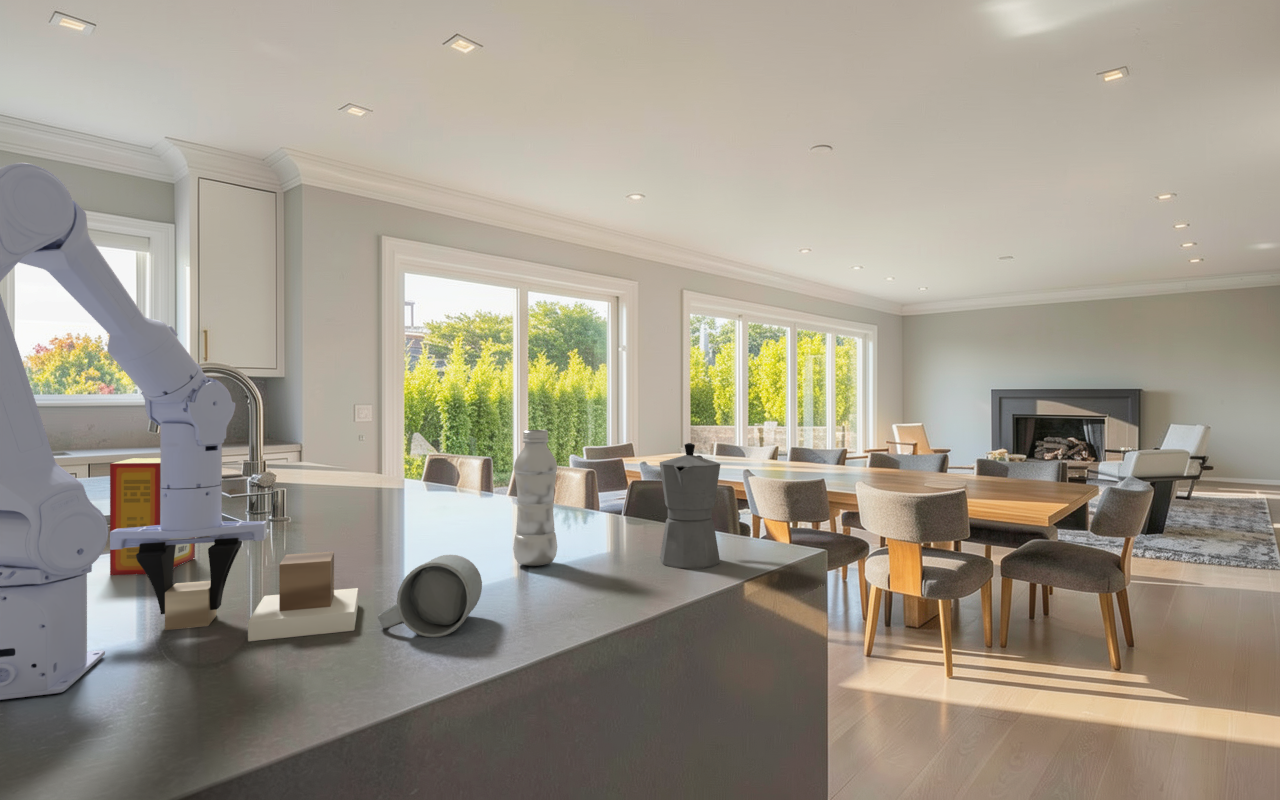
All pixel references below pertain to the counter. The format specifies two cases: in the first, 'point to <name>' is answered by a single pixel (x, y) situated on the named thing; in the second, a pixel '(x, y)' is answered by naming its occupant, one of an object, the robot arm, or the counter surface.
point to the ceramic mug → (436, 597)
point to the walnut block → (306, 581)
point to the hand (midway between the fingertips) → (191, 609)
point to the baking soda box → (137, 510)
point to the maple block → (188, 605)
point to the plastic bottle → (535, 501)
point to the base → (303, 618)
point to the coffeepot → (689, 511)
